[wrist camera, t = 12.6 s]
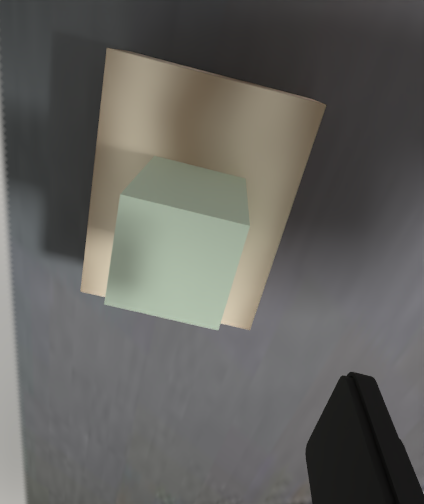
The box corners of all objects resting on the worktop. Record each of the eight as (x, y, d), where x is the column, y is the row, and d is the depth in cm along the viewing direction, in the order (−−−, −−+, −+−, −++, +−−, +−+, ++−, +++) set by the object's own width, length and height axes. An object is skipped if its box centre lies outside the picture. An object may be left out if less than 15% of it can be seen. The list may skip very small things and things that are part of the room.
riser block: (312, 98, 23) (326, 105, 20) (247, 297, 29) (249, 329, 26) (127, 50, 23) (106, 47, 19) (100, 262, 29) (80, 291, 25)
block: (245, 178, 21) (250, 225, 15) (222, 259, 24) (218, 330, 17) (154, 155, 21) (120, 194, 15) (139, 239, 23) (104, 304, 17)
